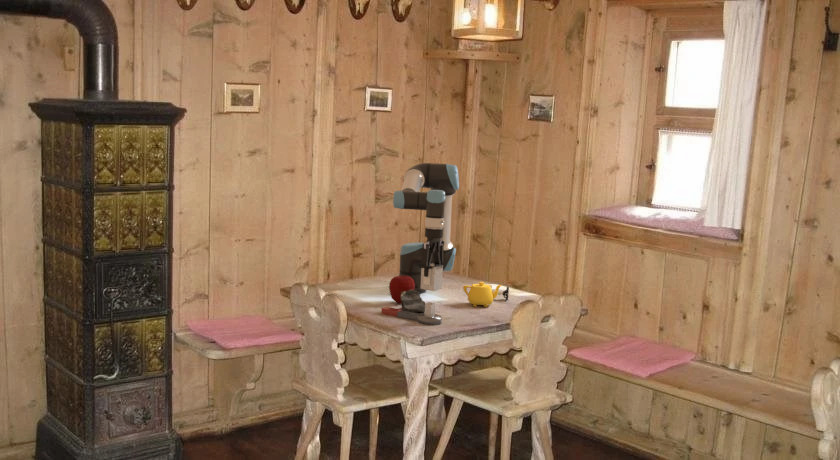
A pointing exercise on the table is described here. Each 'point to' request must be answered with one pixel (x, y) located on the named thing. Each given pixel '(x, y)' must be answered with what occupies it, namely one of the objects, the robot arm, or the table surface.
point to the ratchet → (416, 314)
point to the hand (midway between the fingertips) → (431, 282)
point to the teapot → (481, 294)
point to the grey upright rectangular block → (433, 278)
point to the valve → (505, 293)
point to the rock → (412, 301)
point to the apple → (400, 286)
